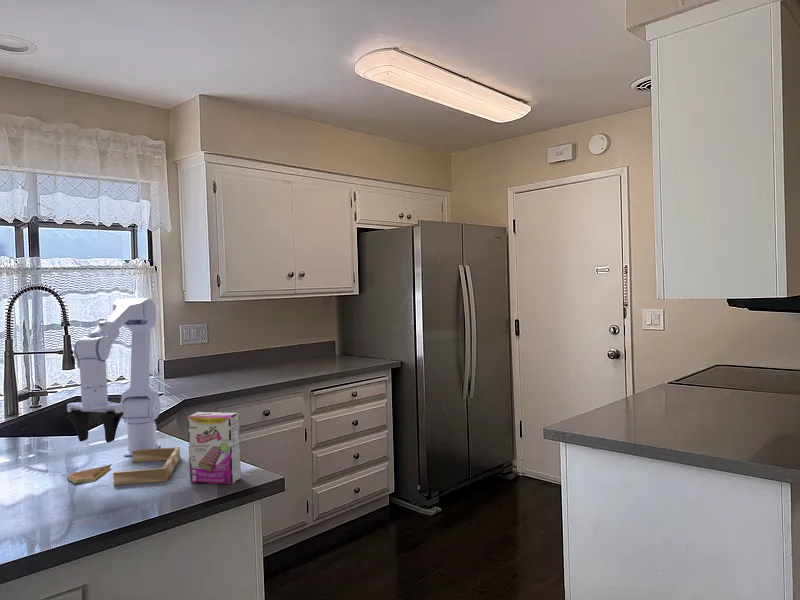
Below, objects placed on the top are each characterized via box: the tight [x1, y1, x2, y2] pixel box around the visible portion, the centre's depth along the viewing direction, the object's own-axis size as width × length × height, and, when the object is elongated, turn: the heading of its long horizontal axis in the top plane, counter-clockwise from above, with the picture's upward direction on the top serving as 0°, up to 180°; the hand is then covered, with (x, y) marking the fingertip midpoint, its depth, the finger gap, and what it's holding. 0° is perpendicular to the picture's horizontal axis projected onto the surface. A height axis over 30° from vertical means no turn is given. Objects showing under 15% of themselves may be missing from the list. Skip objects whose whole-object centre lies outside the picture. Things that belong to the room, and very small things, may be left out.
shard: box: [66, 463, 112, 485], centre depth 150 cm, size 11×8×2 cm
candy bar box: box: [187, 411, 242, 485], centre depth 143 cm, size 11×5×16 cm, turn 80°
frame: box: [112, 446, 181, 486], centre depth 153 cm, size 19×12×3 cm, turn 11°
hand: (96, 440), depth 146 cm, fingers open, 7 cm apart
